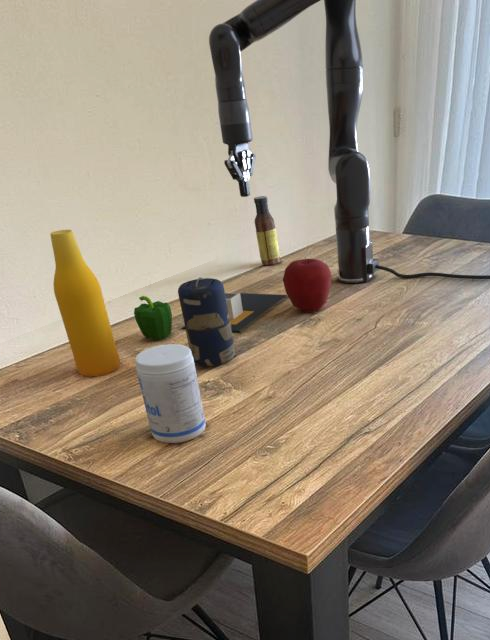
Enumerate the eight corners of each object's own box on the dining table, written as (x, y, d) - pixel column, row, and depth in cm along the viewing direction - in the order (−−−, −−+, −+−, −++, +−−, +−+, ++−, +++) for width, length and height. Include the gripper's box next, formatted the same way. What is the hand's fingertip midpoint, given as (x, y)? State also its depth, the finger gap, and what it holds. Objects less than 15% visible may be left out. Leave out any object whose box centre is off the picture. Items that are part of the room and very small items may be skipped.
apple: (279, 317, 168) (272, 263, 161) (298, 302, 177) (292, 250, 170) (323, 319, 164) (318, 263, 156) (340, 304, 172) (336, 251, 165)
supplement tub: (141, 436, 118) (121, 358, 110) (183, 415, 124) (167, 339, 116) (176, 450, 113) (157, 369, 105) (218, 428, 119) (203, 349, 111)
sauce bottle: (282, 260, 216) (274, 194, 205) (279, 265, 211) (270, 198, 200) (262, 261, 217) (253, 195, 206) (258, 266, 211) (249, 199, 201)
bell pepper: (182, 335, 162) (174, 294, 157) (154, 345, 157) (144, 304, 152) (162, 329, 167) (153, 289, 162) (134, 339, 162) (124, 298, 157)
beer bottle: (104, 378, 143) (64, 237, 127) (69, 375, 146) (26, 237, 130) (129, 362, 150) (94, 226, 134) (95, 359, 153) (57, 226, 137)
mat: (288, 296, 182) (287, 294, 181) (239, 332, 160) (238, 330, 160) (236, 294, 187) (236, 292, 187) (182, 329, 166) (182, 327, 166)
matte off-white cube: (230, 299, 165) (233, 319, 168) (240, 293, 169) (243, 312, 171) (213, 298, 167) (216, 318, 169) (222, 292, 171) (226, 311, 173)
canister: (243, 353, 148) (230, 271, 139) (224, 370, 141) (209, 285, 131) (205, 351, 151) (189, 271, 142) (184, 368, 144) (166, 284, 134)
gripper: (235, 123, 160) (246, 201, 169) (260, 117, 170) (269, 191, 179) (208, 125, 162) (220, 201, 172) (234, 119, 172) (244, 191, 182)
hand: (245, 196), depth 175 cm, fingers closed
